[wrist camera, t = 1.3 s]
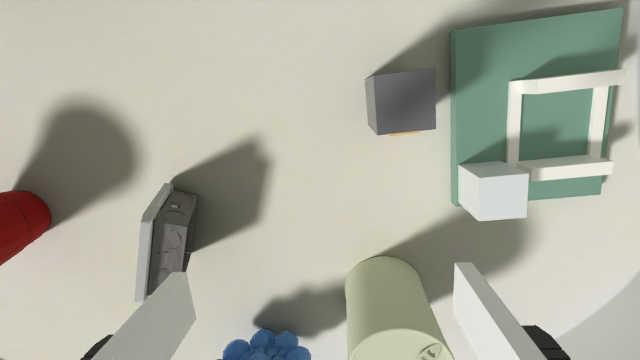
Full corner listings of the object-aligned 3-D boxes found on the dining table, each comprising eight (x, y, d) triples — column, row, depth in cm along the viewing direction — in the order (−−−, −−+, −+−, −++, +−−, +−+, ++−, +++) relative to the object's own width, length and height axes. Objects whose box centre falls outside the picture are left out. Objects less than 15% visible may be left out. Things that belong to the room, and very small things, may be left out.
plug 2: (458, 164, 32) (479, 177, 27) (499, 160, 31) (529, 173, 26) (458, 202, 33) (478, 221, 28) (498, 198, 32) (526, 217, 27)
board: (450, 32, 30) (469, 22, 25) (609, 11, 28) (657, -3, 24) (451, 201, 34) (467, 218, 30) (588, 189, 33) (626, 204, 29)
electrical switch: (167, 179, 35) (120, 212, 27) (213, 189, 36) (182, 224, 27) (160, 251, 38) (115, 303, 29) (203, 259, 39) (171, 312, 30)
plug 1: (364, 79, 31) (373, 75, 24) (410, 73, 31) (434, 67, 23) (368, 127, 33) (377, 139, 25) (412, 122, 32) (436, 132, 24)
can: (438, 290, 37) (483, 380, 26) (381, 335, 39) (399, 436, 28) (384, 240, 36) (405, 311, 24) (328, 289, 38) (323, 376, 27)
